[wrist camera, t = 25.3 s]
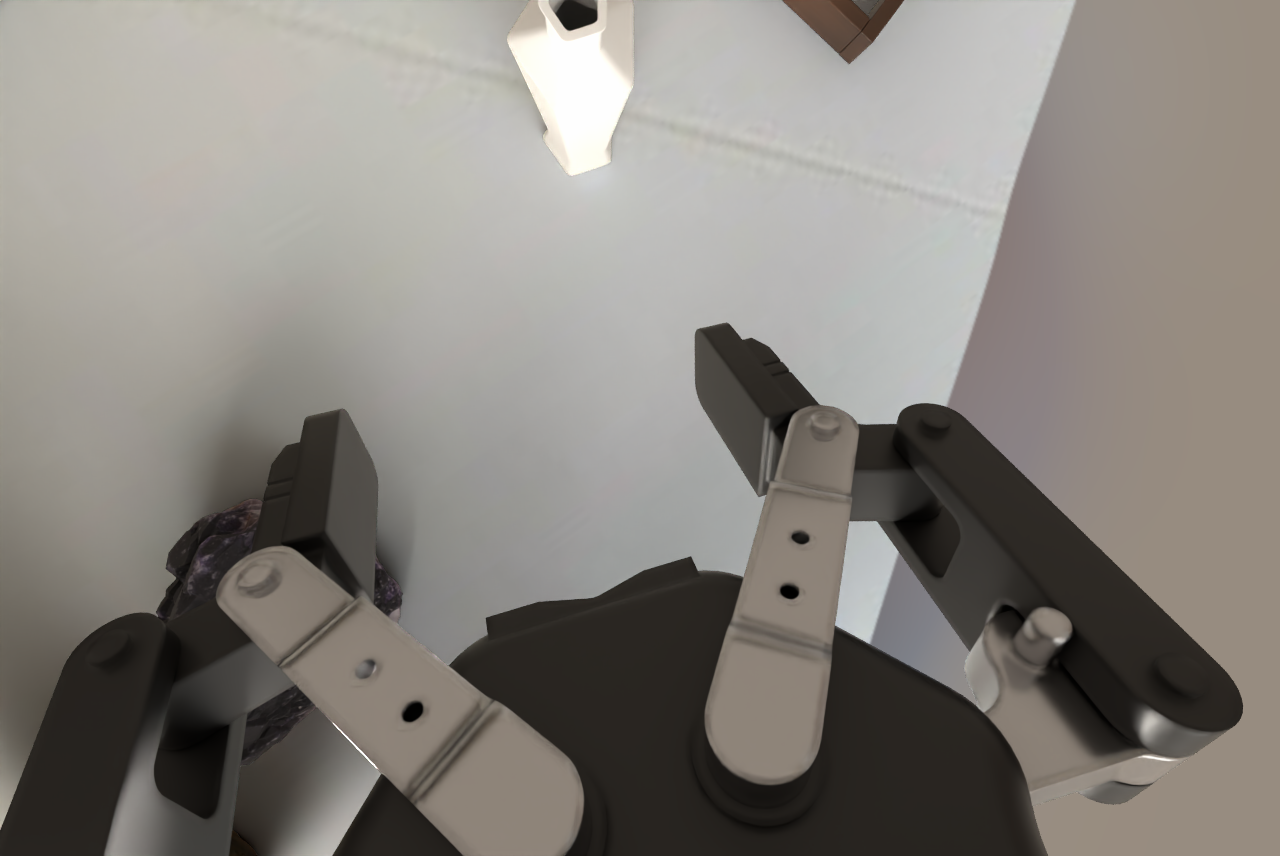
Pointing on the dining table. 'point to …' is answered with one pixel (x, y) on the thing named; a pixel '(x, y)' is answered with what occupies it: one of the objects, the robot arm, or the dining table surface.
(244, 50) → the dining table surface
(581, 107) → the perfume bottle
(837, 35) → the walnut frame
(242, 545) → the crystal cluster
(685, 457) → the dining table surface
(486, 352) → the dining table surface
